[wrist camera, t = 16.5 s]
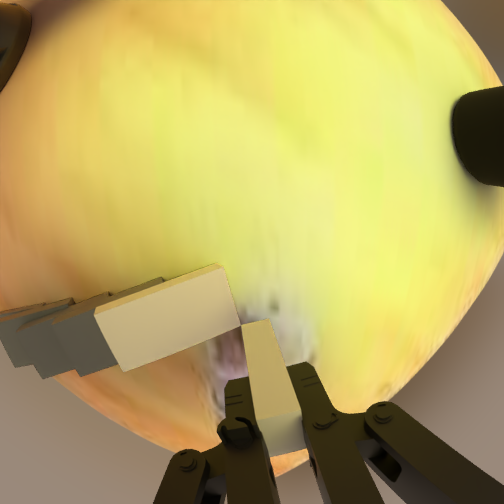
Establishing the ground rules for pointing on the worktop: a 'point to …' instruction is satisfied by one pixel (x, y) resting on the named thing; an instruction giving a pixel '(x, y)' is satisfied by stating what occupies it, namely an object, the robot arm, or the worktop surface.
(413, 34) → the worktop surface
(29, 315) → the domino
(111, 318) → the domino
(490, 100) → the coffee jar
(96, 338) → the domino
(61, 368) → the domino
